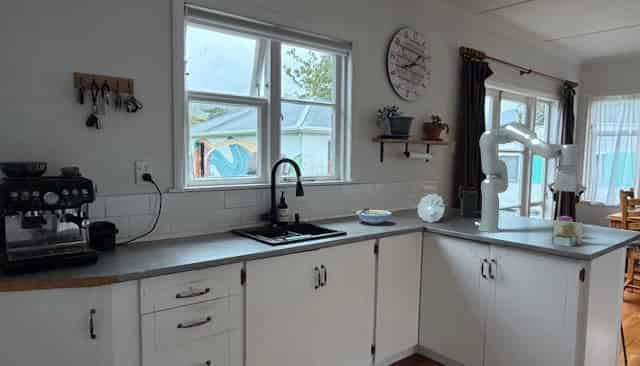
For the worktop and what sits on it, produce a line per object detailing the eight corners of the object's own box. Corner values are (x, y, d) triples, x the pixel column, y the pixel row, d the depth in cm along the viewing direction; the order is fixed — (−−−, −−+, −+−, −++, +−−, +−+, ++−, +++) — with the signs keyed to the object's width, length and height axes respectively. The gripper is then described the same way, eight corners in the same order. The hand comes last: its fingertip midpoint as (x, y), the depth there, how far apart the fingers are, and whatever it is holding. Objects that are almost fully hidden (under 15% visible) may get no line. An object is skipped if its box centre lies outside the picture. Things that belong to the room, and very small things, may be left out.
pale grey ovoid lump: (423, 228, 277) (425, 221, 301) (449, 218, 272) (449, 211, 296) (411, 203, 278) (414, 197, 301) (437, 193, 272) (438, 188, 296)
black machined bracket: (472, 214, 317) (474, 185, 315) (477, 218, 297) (479, 187, 295) (456, 213, 319) (457, 184, 317) (460, 218, 299) (461, 187, 297)
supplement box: (555, 236, 237) (556, 216, 236) (565, 236, 237) (566, 216, 236) (562, 238, 231) (563, 217, 230) (572, 238, 231) (573, 217, 231)
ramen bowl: (388, 227, 257) (388, 214, 257) (351, 225, 264) (351, 212, 264) (394, 221, 281) (394, 209, 280) (360, 219, 288) (361, 207, 287)
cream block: (547, 243, 218) (548, 222, 217) (553, 240, 226) (555, 219, 225) (575, 247, 209) (577, 225, 208) (581, 244, 217) (582, 222, 216)
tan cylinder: (557, 240, 217) (559, 225, 216) (559, 239, 220) (561, 224, 219) (567, 242, 214) (568, 226, 213) (569, 241, 217) (570, 225, 216)
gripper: (547, 168, 217) (544, 201, 219) (585, 169, 205) (583, 204, 207) (551, 167, 223) (549, 200, 224) (589, 169, 210) (587, 203, 212)
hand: (565, 202), depth 215 cm, fingers open, 9 cm apart
